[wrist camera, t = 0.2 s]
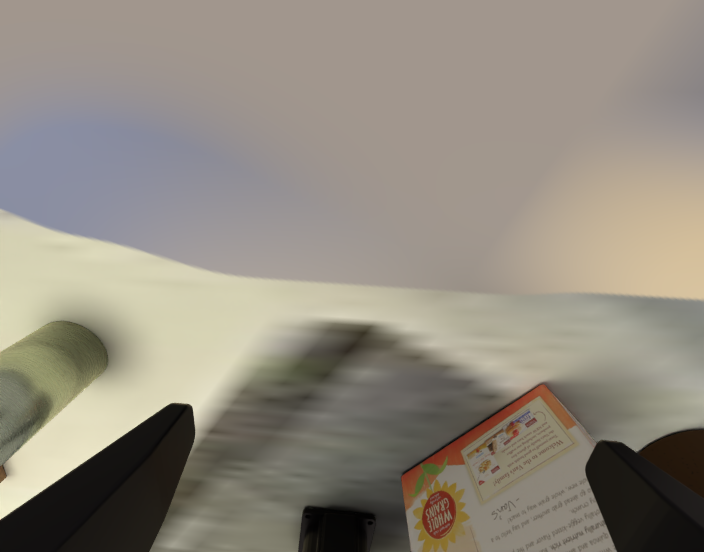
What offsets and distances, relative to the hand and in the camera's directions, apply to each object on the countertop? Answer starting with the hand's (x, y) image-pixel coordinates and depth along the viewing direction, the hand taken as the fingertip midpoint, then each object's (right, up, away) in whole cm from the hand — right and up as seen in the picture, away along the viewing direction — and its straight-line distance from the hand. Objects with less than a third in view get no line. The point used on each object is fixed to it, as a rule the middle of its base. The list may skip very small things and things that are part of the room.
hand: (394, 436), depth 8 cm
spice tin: (-21, -2, +17) cm, 27 cm away
